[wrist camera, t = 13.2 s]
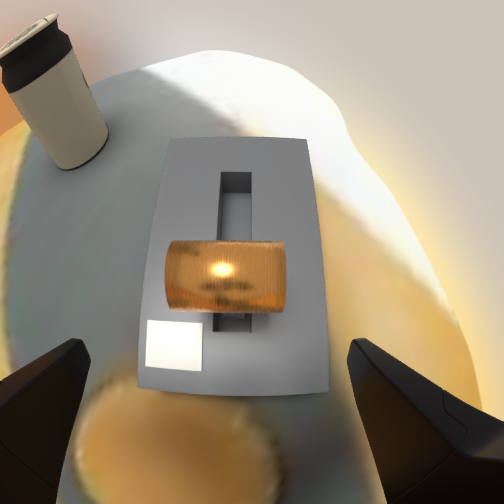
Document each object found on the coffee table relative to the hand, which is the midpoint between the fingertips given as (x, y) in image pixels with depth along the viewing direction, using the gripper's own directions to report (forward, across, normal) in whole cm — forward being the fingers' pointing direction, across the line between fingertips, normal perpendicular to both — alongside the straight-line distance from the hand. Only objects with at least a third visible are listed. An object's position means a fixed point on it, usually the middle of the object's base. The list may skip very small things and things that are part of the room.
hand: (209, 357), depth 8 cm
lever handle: (+11, 0, +5) cm, 12 cm away
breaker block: (+14, 0, +3) cm, 15 cm away
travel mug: (+25, +19, -8) cm, 33 cm away
